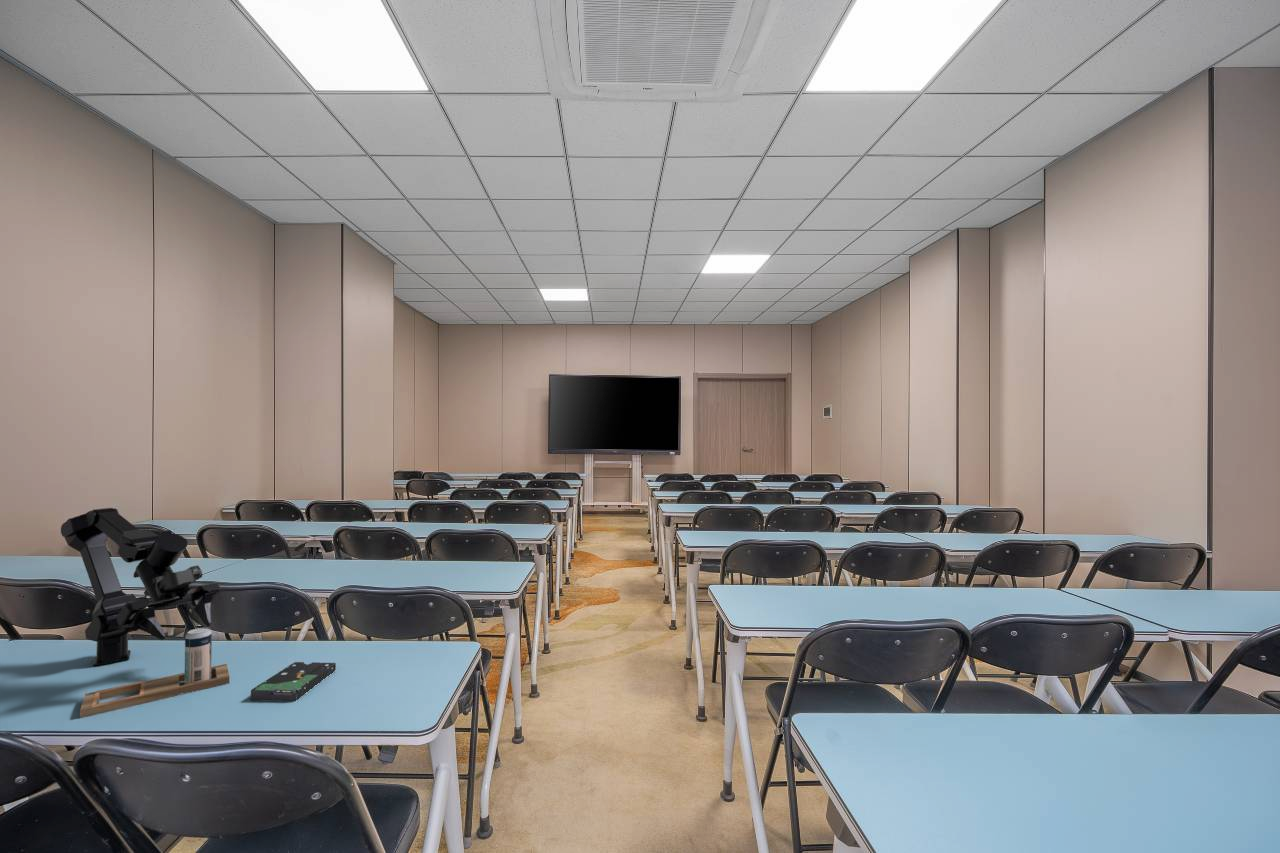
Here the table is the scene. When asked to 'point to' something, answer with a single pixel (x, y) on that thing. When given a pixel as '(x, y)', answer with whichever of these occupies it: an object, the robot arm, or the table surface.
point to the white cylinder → (198, 655)
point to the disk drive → (292, 681)
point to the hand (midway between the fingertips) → (187, 631)
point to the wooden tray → (148, 691)
